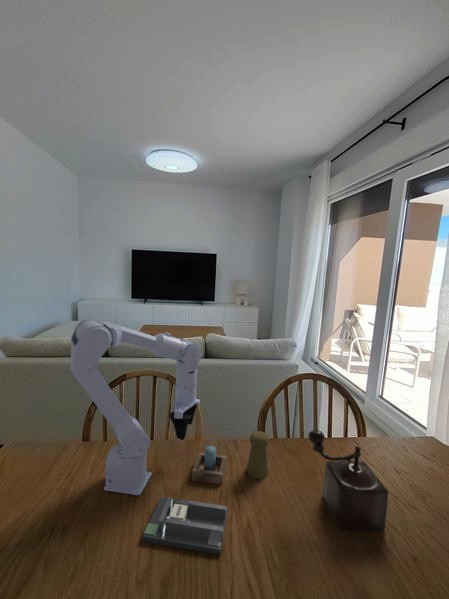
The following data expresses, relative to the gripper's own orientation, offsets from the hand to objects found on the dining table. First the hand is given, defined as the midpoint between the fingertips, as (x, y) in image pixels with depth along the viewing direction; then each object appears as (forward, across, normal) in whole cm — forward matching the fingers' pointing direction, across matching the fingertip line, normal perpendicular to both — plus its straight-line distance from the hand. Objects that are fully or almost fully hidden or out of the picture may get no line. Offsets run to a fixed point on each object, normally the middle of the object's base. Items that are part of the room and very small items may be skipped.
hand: (184, 430), depth 83 cm
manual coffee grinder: (+10, -9, -41) cm, 43 cm away
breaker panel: (+10, -20, -6) cm, 23 cm away
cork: (+10, +1, -21) cm, 23 cm away
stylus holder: (+10, -2, -8) cm, 13 cm away
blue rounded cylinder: (+9, -2, -8) cm, 12 cm away
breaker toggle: (+8, -20, -4) cm, 22 cm away
